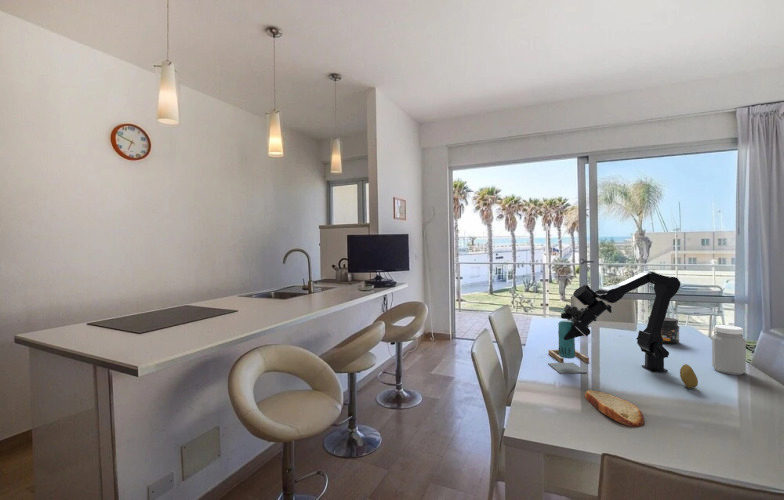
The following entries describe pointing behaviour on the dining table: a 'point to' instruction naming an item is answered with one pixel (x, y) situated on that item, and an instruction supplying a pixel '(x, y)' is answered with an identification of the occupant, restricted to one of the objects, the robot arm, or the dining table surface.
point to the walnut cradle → (556, 355)
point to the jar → (729, 350)
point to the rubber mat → (566, 368)
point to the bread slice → (616, 408)
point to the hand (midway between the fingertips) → (563, 337)
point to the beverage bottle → (565, 346)
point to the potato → (688, 376)
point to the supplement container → (670, 331)
